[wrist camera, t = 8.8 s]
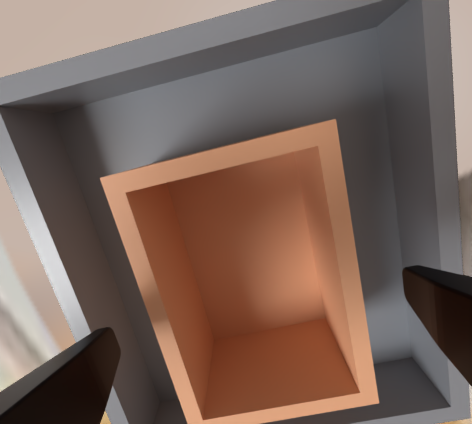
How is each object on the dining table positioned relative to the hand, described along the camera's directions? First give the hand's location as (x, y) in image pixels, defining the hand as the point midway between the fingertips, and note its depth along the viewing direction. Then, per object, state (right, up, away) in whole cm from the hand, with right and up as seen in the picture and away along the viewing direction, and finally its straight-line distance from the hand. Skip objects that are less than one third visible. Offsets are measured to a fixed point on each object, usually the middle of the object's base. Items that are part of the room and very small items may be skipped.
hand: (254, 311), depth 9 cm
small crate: (0, +1, +6) cm, 6 cm away
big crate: (0, +2, +7) cm, 7 cm away
